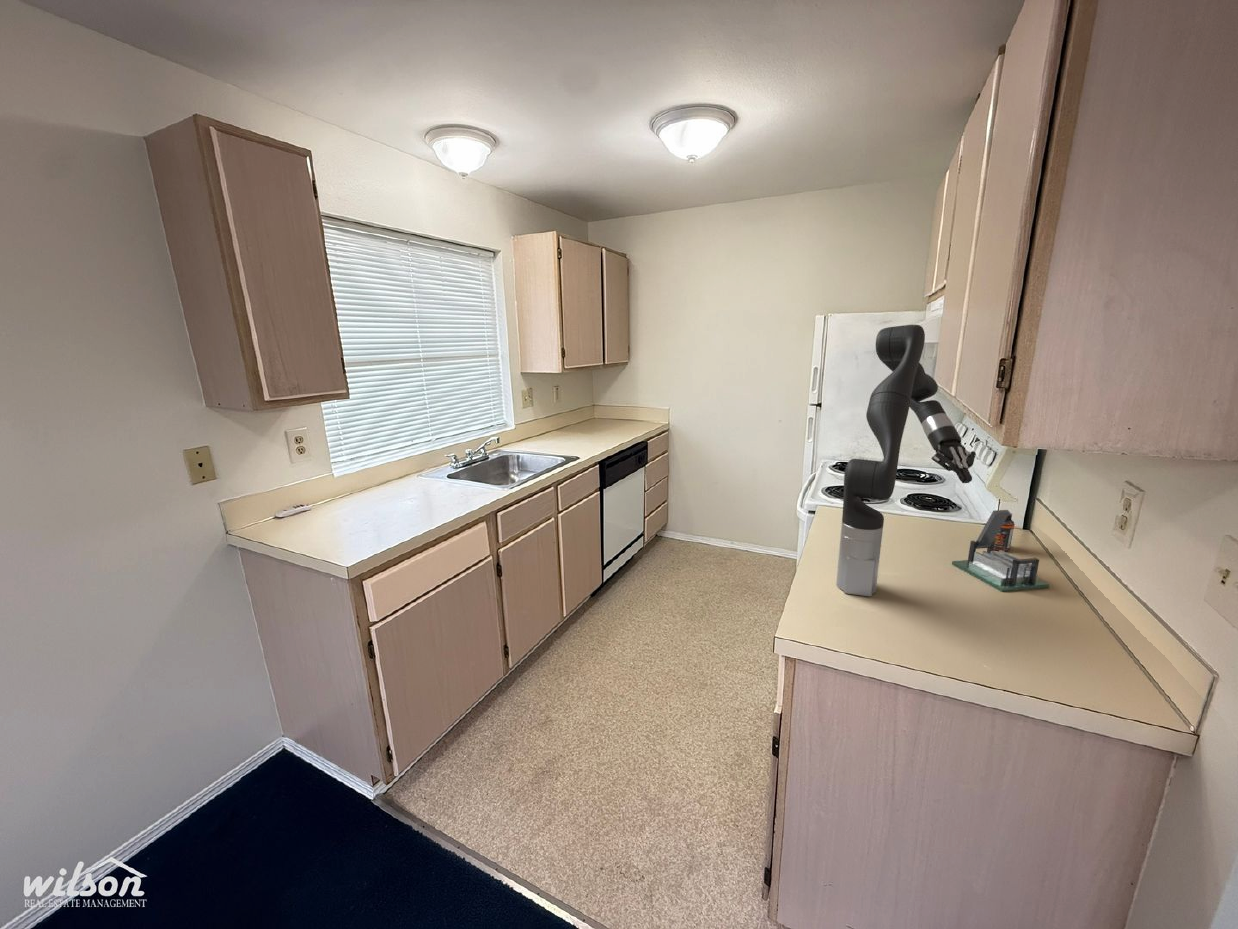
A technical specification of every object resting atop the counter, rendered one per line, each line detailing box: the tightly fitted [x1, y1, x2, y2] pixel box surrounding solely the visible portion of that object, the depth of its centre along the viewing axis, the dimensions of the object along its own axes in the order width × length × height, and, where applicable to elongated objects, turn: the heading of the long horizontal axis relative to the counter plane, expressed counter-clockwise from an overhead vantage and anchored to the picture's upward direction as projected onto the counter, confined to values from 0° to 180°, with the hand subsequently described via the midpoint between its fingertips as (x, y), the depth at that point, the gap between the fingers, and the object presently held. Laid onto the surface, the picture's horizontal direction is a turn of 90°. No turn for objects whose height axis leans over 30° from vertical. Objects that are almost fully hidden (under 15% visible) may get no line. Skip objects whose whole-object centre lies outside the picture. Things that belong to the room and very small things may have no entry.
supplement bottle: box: [994, 512, 1015, 552], centre depth 146 cm, size 6×6×11 cm
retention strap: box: [975, 509, 1011, 550], centre depth 132 cm, size 1×4×13 cm, turn 97°
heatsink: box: [951, 540, 1050, 593], centre depth 130 cm, size 16×13×8 cm
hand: (967, 481), depth 139 cm, fingers closed
